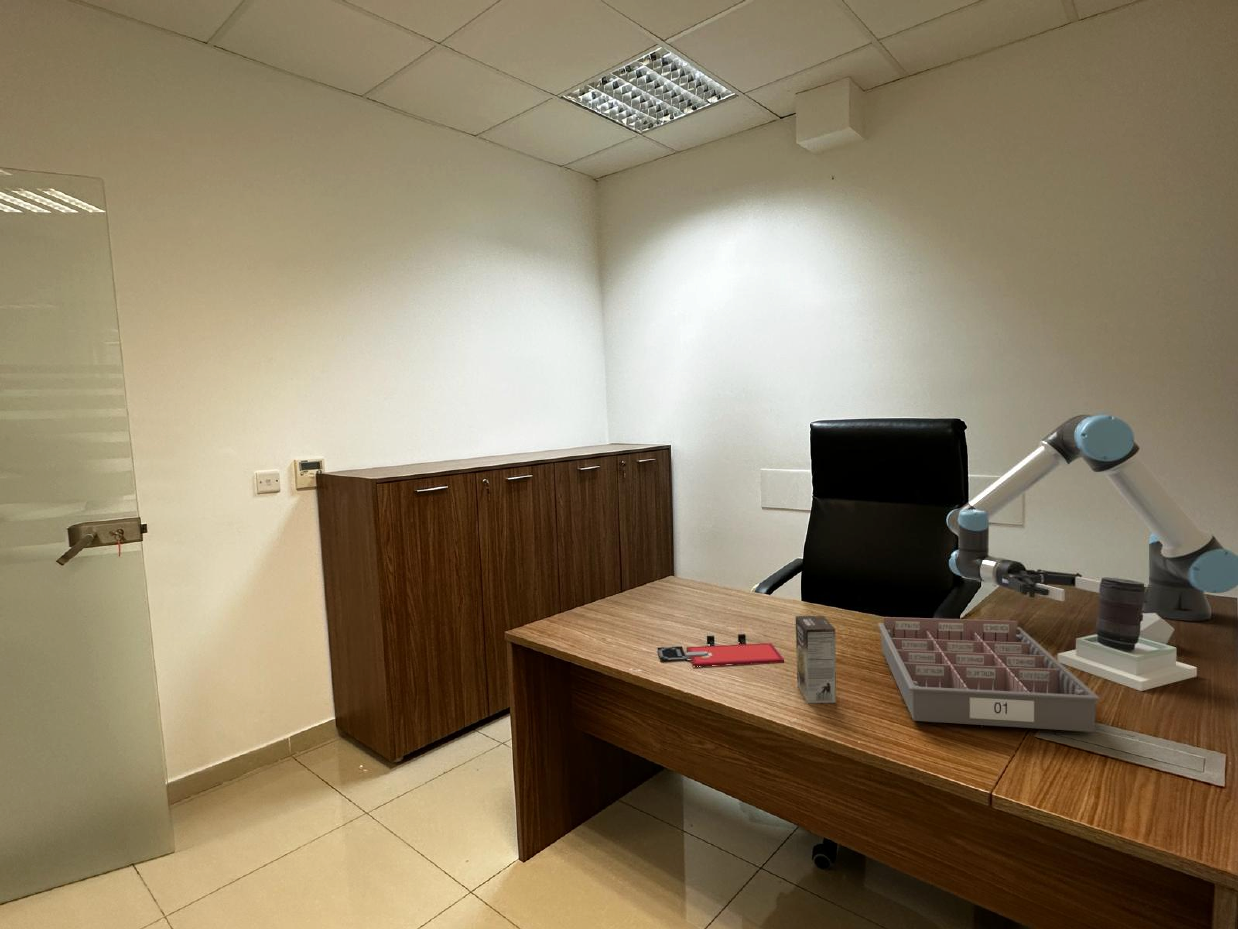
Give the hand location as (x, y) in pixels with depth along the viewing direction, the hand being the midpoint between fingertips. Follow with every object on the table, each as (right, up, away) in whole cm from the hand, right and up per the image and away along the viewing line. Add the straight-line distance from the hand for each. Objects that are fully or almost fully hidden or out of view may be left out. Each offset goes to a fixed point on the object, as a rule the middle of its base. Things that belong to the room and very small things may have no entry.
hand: (1083, 591), depth 155 cm
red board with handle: (-86, -19, +12) cm, 88 cm away
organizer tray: (-35, -19, -15) cm, 42 cm away
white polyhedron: (+20, -15, +6) cm, 26 cm away
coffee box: (-68, -20, -14) cm, 72 cm away
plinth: (+4, -16, -8) cm, 18 cm away
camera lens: (+1, -11, -8) cm, 14 cm away
